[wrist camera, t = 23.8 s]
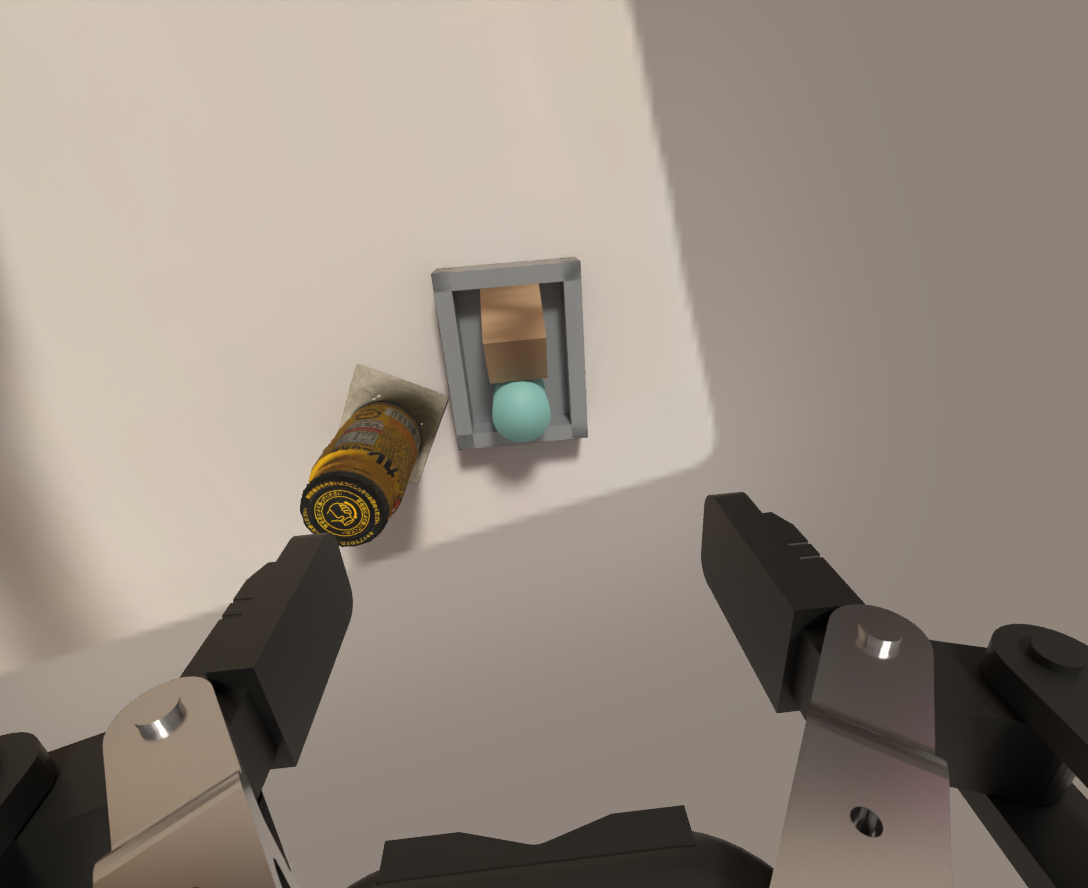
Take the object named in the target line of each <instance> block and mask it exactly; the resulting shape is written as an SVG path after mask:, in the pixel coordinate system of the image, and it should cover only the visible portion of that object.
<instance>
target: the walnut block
mask: <svg viewBox="0 0 1088 888" xmlns="http://www.w3.org/2000/svg"><path fill="white" fill-rule="evenodd" d="M480 301H481V320H482V339H483V348H484V353H485V359H486V364H487V369H488V375H489V380H490V384H492V383H503V382H513V381H523V380H534V379H544V378H548V373H547V343H546V332H545V325H544V318H543V311H542V303H541V296H540V289H539V283H538V284H527V285H516V286H505V287H494V288H483V289H480Z"/></svg>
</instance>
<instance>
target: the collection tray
mask: <svg viewBox="0 0 1088 888" xmlns="http://www.w3.org/2000/svg"><path fill="white" fill-rule="evenodd" d="M431 277H432V284H433V290H434V296H435V302H436V309H437V315H438V321H439V328H440V334H441V340H442V346H443V353H444V359H445V365H446V371H447V378H448V384H449V390H450V397H451V403H452V409H453V415H454V422H455V428H456V434H457V440H458V447H459V450H463V449H473V448H484V447H494V446H504V445H515V444H525V443H535V442H546V441H556V440H566V439H577V438H587V437H588V430H587V406H586V383H585V359H584V335H583V311H582V287H581V264H580V261H579V260H578V259H577V258H575V257H571V258H559V259H547V260H536V261H524V262H512V263H500V264H489V265H477V266H465V267H454V268H442V269H436V270H435V271H434V272H433V273H432V274H431ZM538 283H539V289H540V296H541V303H542V311H543V318H544V325H545V332H546V343H547V373H548V378H544V379H542V380H543V383H544V386H545V391H546V395H547V399H548V403H549V407H550V412H551V418H550V422H549V425H548V427H547V429H546V430H545V432H544V433H543V434H542V435H541V436H539V437H538V438H536V439H534V440H532V441H528V442H514V441H511V440H508V439H506V438H505V437H503V436H502V435H501V434H500V433H499V432H498V431H497V429H496V428H495V426H494V423H493V418H492V411H493V386H494V383H492V384H490V380H489V375H488V369H487V364H486V359H485V353H484V348H483V339H482V320H481V301H480V289H483V288H494V287H505V286H516V285H527V284H538Z"/></svg>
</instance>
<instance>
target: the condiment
mask: <svg viewBox="0 0 1088 888" xmlns="http://www.w3.org/2000/svg"><path fill="white" fill-rule="evenodd" d="M379 394H380V395H381V396H380V397H379V398H377V397H376V396H377V395H379ZM372 398H376V400H372ZM447 400H448V397H447V396H445V395H442V394H439V393H437V392H435V391H432V390H429V389H427V388H424V387H421V386H418V385H416V384H413V383H410V382H407V381H405V380H402V379H399V378H396V377H394V376H390V375H387V374H384V373H381V372H379V371H376V370H373V369H370V368H367V367H364V366H361V365H359V364H357V365H356V369H355V372H354V376H353V380H352V383H351V387H350V391H349V394H348V398H347V402H346V405H345V409H344V413H343V417H342V420H341V424H340V428H339V431H338V432H337V434H336V436H335V437H334V439H333V440H332V441H331V443H330V444H329V445H328V447H326V448H325V449H324V450H323V453H322V455H321V456H320V457H319V459H318V460H317V462H316V463H315V465H314V466H313V468H312V470H311V474H310V478H309V484H307V487H306V488H305V490H303V494H302V498H301V504H300V512H301V514H302V517H303V521H304V524H305V526H306V527H307V528H308V529H309V530H310V531H311V532H312V533H313V534H321V533H332V534H333V535H334V536H335V538H336V540H337V543H338V546H341V547H346V546H358V545H361V544H364V543H367V542H370V541H371V540H373V539H374V538H375V537H377V536H378V535H379V534H380V533H381V532H382V530H383V529H384V527H385V525H386V524H387V521H388V519H389V518H390V517H391V516H392V515H393V514H394V513H395V511H396V510H397V508H398V506H399V505H400V503H401V501H402V498H403V495H404V492H405V489H406V486H407V483H408V482H411V483H415V484H418V482H419V479H420V476H421V473H422V470H423V468H424V465H425V462H426V459H427V456H428V453H429V451H430V448H431V445H432V442H433V439H434V437H435V434H436V431H437V428H438V425H439V422H440V420H441V417H442V414H443V411H444V408H445V406H446V403H447ZM421 423H423V425H421Z"/></svg>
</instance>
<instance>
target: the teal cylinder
mask: <svg viewBox="0 0 1088 888" xmlns="http://www.w3.org/2000/svg"><path fill="white" fill-rule="evenodd" d="M492 418H493V423H494V426H495V428H496V429H497V431H498V432H499V433H500V434H501V435H502V436H503V437H505V438H506V439H508V440H511V441H514V442H528V441H532V440H534V439H536V438H538V437H539V436H541V435H542V434H543V433H544V432H545V430H546V429H547V427H548V425H549V422H550V418H551V412H550V407H549V403H548V399H547V395H546V391H545V386H544V383H543V380H542V379H534V380H523V381H513V382H503V383H494V386H493V411H492Z"/></svg>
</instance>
